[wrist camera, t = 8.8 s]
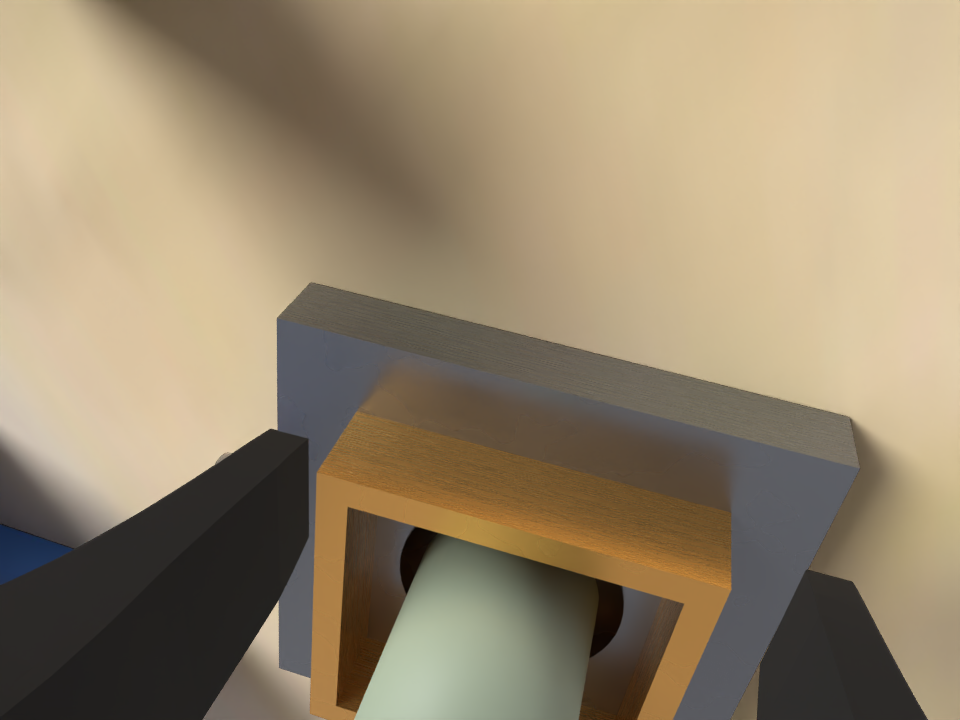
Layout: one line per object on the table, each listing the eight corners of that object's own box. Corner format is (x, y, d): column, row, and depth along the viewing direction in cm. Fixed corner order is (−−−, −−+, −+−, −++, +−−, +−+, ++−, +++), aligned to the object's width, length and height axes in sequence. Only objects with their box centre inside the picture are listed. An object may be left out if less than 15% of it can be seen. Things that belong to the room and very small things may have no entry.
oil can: (610, 540, 21) (563, 815, 15) (587, 663, 24) (540, 935, 18) (423, 499, 22) (311, 744, 16) (421, 623, 25) (326, 869, 19)
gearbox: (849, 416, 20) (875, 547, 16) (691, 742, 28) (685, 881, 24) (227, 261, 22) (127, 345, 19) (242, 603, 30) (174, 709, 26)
